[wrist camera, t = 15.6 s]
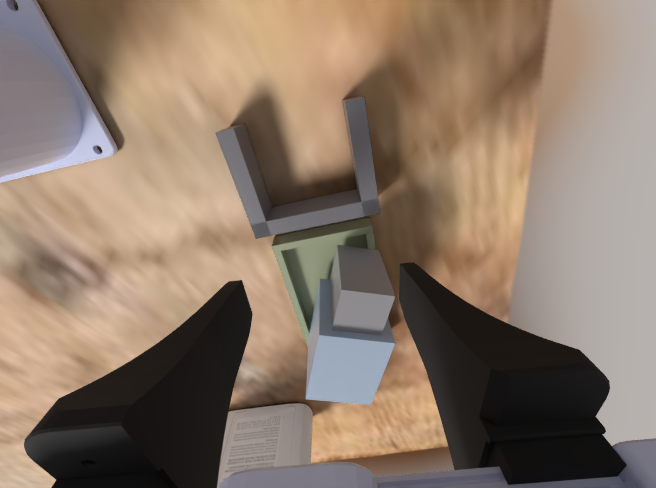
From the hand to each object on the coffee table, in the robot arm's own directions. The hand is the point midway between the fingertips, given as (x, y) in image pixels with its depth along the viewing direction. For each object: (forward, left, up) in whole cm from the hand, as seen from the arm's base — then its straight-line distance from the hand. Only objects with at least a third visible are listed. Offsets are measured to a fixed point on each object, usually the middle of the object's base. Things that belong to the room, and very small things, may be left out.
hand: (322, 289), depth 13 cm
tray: (0, -7, -8) cm, 11 cm away
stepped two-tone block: (0, -6, -7) cm, 9 cm away
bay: (0, +4, -8) cm, 9 cm away
